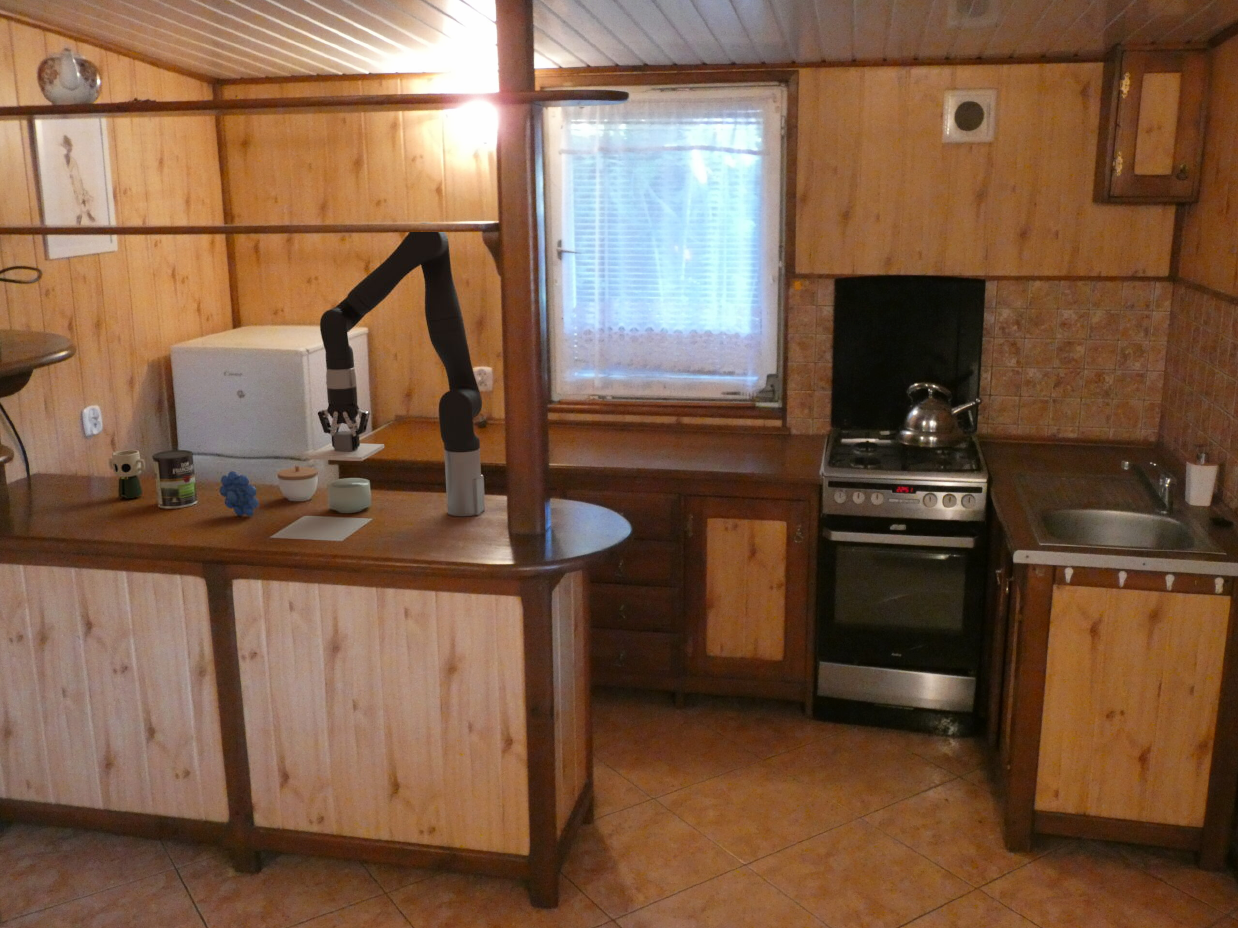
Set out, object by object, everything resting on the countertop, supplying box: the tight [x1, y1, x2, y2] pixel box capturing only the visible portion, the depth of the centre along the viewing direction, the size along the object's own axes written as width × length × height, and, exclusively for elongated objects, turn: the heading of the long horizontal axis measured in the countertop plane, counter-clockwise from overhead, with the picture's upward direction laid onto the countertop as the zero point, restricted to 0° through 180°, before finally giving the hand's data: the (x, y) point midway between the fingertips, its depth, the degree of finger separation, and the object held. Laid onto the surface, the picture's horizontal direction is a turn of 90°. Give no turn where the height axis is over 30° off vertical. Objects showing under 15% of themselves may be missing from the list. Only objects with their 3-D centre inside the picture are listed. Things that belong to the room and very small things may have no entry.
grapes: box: [219, 470, 259, 517], centre depth 293 cm, size 12×7×12 cm, turn 70°
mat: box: [269, 515, 373, 542], centre depth 282 cm, size 19×19×1 cm
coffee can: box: [151, 449, 199, 510], centre depth 305 cm, size 10×10×14 cm
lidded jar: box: [276, 465, 319, 502], centre depth 310 cm, size 11×11×9 cm
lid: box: [306, 430, 385, 462], centre depth 294 cm, size 15×15×6 cm
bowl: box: [326, 477, 372, 514], centre depth 298 cm, size 11×11×8 cm
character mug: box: [108, 449, 146, 500], centre depth 312 cm, size 11×7×13 cm, turn 79°
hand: (346, 448), depth 295 cm, fingers closed on lid, 4 cm apart
